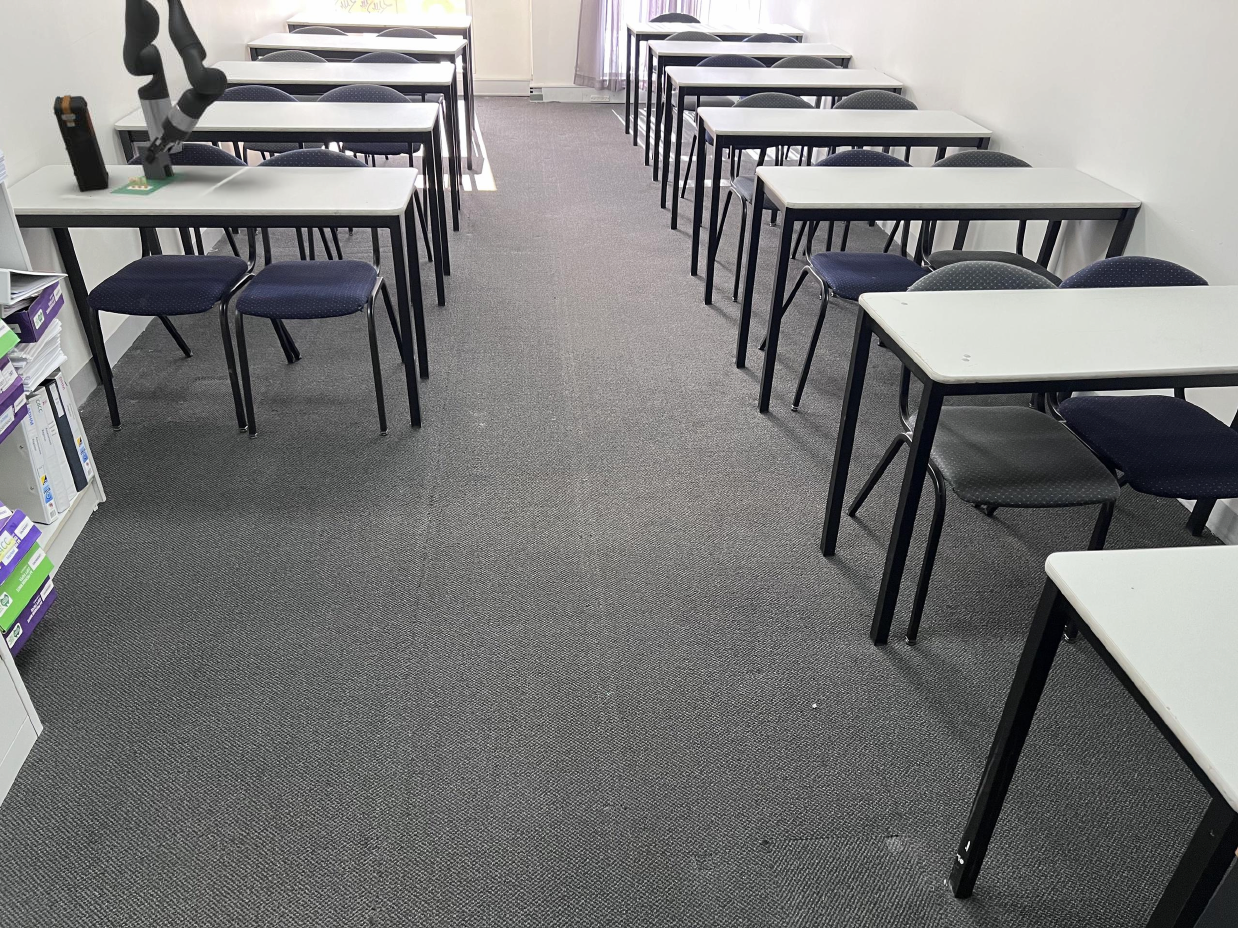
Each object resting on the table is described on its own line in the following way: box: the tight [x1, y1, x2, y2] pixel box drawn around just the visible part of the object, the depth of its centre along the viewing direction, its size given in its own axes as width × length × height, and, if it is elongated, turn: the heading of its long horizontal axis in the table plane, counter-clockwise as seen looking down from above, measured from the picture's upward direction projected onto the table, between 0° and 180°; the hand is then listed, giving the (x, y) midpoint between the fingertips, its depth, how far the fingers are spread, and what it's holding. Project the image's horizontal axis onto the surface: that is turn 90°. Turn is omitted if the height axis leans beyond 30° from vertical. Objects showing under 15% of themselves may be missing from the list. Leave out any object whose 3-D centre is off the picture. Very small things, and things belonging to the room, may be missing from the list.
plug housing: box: [136, 140, 175, 180], centre depth 274 cm, size 6×6×10 cm
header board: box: [109, 172, 187, 196], centre depth 271 cm, size 22×12×4 cm, turn 173°
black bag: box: [52, 94, 110, 193], centre depth 264 cm, size 16×9×25 cm, turn 25°
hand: (155, 158), depth 274 cm, fingers open, 8 cm apart
